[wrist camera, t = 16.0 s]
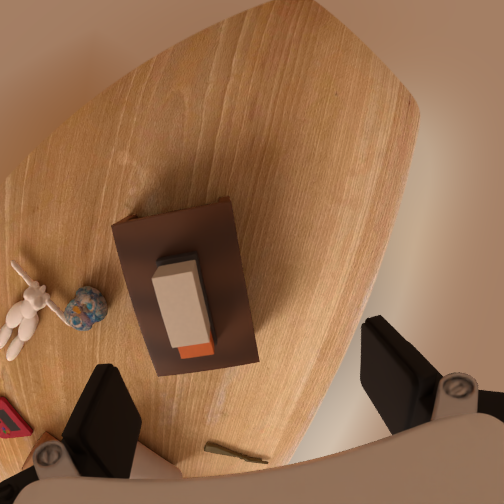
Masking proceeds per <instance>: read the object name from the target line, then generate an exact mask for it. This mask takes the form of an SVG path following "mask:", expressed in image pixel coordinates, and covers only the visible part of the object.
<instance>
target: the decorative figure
mask: <svg viewBox="0 0 504 504" xmlns="http://www.w3.org/2000/svg"><path fill="white" fill-rule="evenodd" d="M11 265H12V266H13V268H14V269H15V270H16V271H17V273H18V274H19V275H21V276H23V279H24V280H25V282H26V283H27V284H28V285H29V287H28V288H27V289H26V290H25V291H24V294H23V296H24V301H19V302H17V303H15V304H14V305H13V306H12V307H11V308H10V310H9V311H8V313H7V316H6V323H5V324H4V325H3V326H2V328H1V329H0V349H1V348H3V347H4V346H5V344H6V343H7V341H8V340H9V338H10V336H11V333H12V329H13V328H15V327H17V326H18V325H19V324H20V326H19V329H18V335H17V336H16V337H15V338H14V339H13V341H12V342H11V344H10V346H9V348H8V350H7V354H6V358H7V360H8V361H12V360H14V359H15V358H16V357H17V355H18V354H19V353H20V351H21V349H22V347H23V345H24V341H27V340H29V339H30V338H31V337H32V335H33V334H34V332H35V330H36V327H37V324H38V322H39V317H38V315H37V314H36V313H37V311H38V310H40V309H42V308H44V307H45V306H46V304H47V305H48V306H49V307H50V308H51V309H52V310H53V311H55V312H56V314H57V315H58V316H59V317H60V318H61V319H62V320H63V321H64V322H65V324H67V325H69V324H68V323H67V322H66V319H65V316H64V312H62V311H61V310H60V308H59V307H57V306H56V304H55V303H54V302H53V301H52V300H51V299H50V295H49V294H48V293H46V292H45V290H46V286H45V285H42V286H39V283H38V282H37V281H33V280H32V279H31V278H30V277H29V276H28V275H27V273H26V272H25V271H24V270H23V269H22V268H21V266H20V265H19V264H18V263H17V262H16V261H15V260H12V261H11Z"/></svg>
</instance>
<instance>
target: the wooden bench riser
mask: <svg viewBox="0 0 504 504" xmlns="http://www.w3.org/2000/svg"><path fill="white" fill-rule="evenodd" d="M111 227H112V231H113V236H114V240H115V244H116V248H117V252H118V256H119V259H120V263H121V267H122V270H123V274H124V278H125V281H126V285H127V288H128V291H129V295H130V298H131V301H132V304H133V308H134V311H135V314H136V317H137V320H138V323H139V326H140V329H141V332H142V335H143V338H144V341H145V343H146V346H147V349H148V352H149V355H150V357H151V360H152V363H153V365H154V368H155V370H156V373H157V376H158V377H159V376H168V375H177V374H185V373H193V372H200V371H207V370H214V369H221V368H227V367H233V366H239V365H245V364H250V363H256V362H259V356H258V351H257V345H256V340H255V334H254V329H253V324H252V318H251V312H250V307H249V301H248V296H247V290H246V285H245V279H244V273H243V268H242V262H241V256H240V251H239V245H238V239H237V233H236V228H235V222H234V216H233V210H232V204H231V200H230V197H229V196H225V197H220V198H219V202H217V203H212V204H206V205H201V206H196V207H191V208H185V209H180V210H175V211H170V212H165V213H160V214H156V215H151V216H146V217H141V218H138V217H137V214H135V215H130V216H127V217H125V218H124V219H122V220H120V221H118V222H117V223H115V224H113V225H111ZM193 251H197V253H198V258H199V262H200V267H201V272H202V276H203V281H204V285H205V289H206V294H207V298H208V303H209V307H210V311H211V315H212V320H213V324H214V328H215V332H216V336H217V345H215V346H214V354H212V355H206V356H199V357H192V358H185V359H181V356H180V353H179V350H178V347H175V348H172V346H171V343H170V340H169V337H168V333H167V330H166V327H165V324H164V320H163V317H162V314H161V310H160V307H159V303H158V300H157V296H156V293H155V289H154V286H153V282H152V277H153V275H154V274H155V272H156V270H157V266H156V260H157V259H158V258H161V257H166V256H172V255H177V254H182V253H188V252H193Z"/></svg>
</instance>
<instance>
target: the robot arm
mask: <svg viewBox="0 0 504 504" xmlns="http://www.w3.org/2000/svg"><path fill="white" fill-rule="evenodd" d="M360 381H361V384H362V386H363V388H364V390H365V391H366V393H367V395H368V396H369V398H370V399H371V401H372V403H373V404H374V406H375V408H376V409H377V411H378V413H379V414H380V416H381V417H382V419H383V420H384V422H385V424H386V426H387V427H388V429H389V431H390V432H391V434H392V436H389V437H386V438H383V439H380V440H377V441H374V442H371V443H368V444H365V445H362V446H358V447H355V448H352V449H349V450H346V451H342V452H339V453H335V454H331V455H328V456H324V457H320V458H316V459H312V460H308V461H303V462H299V463H294V464H290V465H285V466H280V467H274V468H269V469H263V470H257V471H251V472H244V473H236V474H228V475H219V476H208V477H196V478H178V479H130V474H131V469H132V464H133V460H134V455H135V450H136V446H137V442H138V437H139V433H140V429H141V424H142V421H141V417H140V414H139V412H138V410H137V408H136V406H135V404H134V402H133V400H132V398H131V396H130V394H129V392H128V390H127V388H126V386H125V383H124V381H123V379H122V377H121V375H120V372H119V370H118V368H117V367H114V366H113V365H112V364H110V363H109V364H98V365H97V366H96V367H95V369H94V371H93V373H92V375H91V376H90V378H89V380H88V382H87V384H86V386H85V388H84V390H83V392H82V394H81V396H80V398H79V400H78V402H77V404H76V406H75V408H74V410H73V412H72V414H71V416H70V418H69V420H68V422H67V425H66V427H65V429H64V431H63V433H62V435H61V436H62V437H63V439H62V441H61V442H59V441H55V440H51V441H47V442H44V443H42V444H41V445H39V446H38V447H37V448H36V449H35V451H34V453H33V457H32V459H33V464H34V465H33V466H31V467H29V468H27V469H25V470H23V471H21V472H20V473H18V474H16V475H14V476H12V477H10V478H8V479H6V480H4V481H2V482H1V483H0V504H504V393H503V392H493V391H484V390H478V383H477V382H476V380H475V379H474V378H473V377H471V376H470V375H468V374H465V373H460V372H459V373H451V374H448V375H446V376H444V377H443V376H442V375H441V374H440V373H439V372H438V371H437V370H436V369H435V368H434V367H433V366H432V365H431V364H430V363H429V361H427V359H425V357H423V355H422V354H421V353H420V352H419V351H418V350H417V349H416V348H415V347H414V346H413V345H412V344H411V343H409V342H408V341H406V340H405V339H404V338H403V337H402V336H401V335H400V334H399V333H398V332H397V331H396V330H395V329H394V328H393V327H392V326H391V325H390V324H389V323H388V322H387V321H386V320H385V319H384V318H383V317H382V316H381V315H378V316H374V317H371V318H367V319H366V321H365V323H363V324H362V326H361V369H360Z"/></svg>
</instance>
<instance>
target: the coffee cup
mask: <svg viewBox="0 0 504 504" xmlns="http://www.w3.org/2000/svg"><path fill="white" fill-rule="evenodd" d="M178 478H182V473H181V471H180V469H179V468H177V467H176V466H174V465H173V464H171V463H170V462H168V461H166V460H165V459H163V458H162V457H160V456H159V455H157V454H156V453H154V452H153V451H151V450H150V449H148V448H147V447H146V446H144V445H143V444H141V443H140V442H139V441H138V442H137V446H136V450H135V455H134V460H133V464H132V469H131V474H130V479H178Z"/></svg>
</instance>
